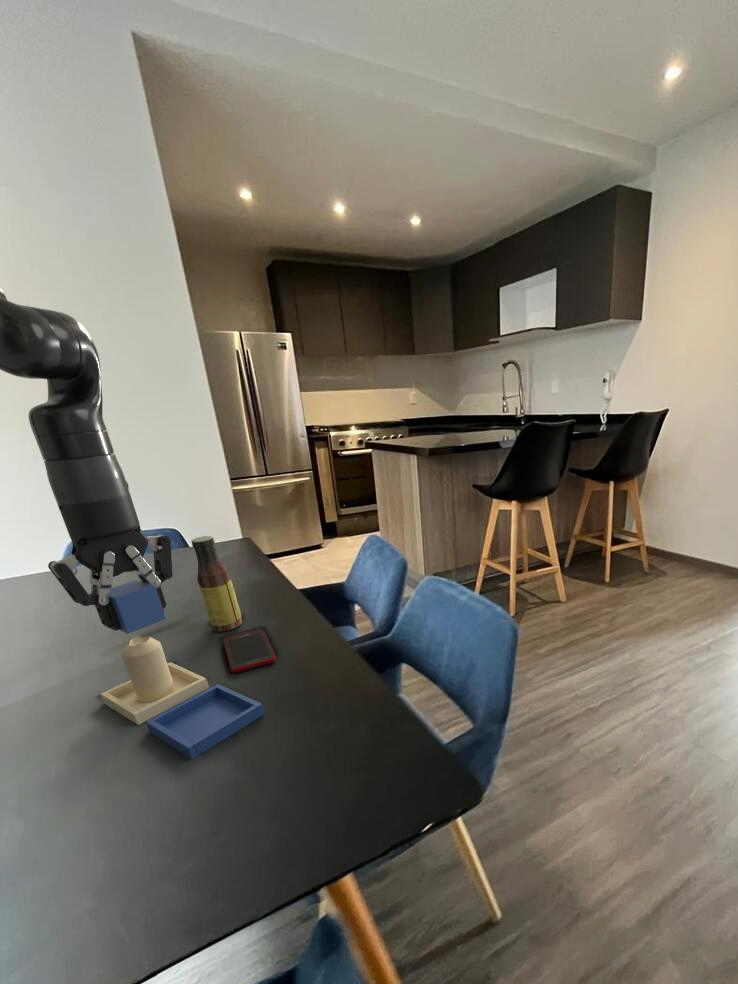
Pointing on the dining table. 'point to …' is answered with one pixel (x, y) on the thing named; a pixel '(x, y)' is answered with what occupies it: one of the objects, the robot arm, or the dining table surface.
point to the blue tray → (204, 720)
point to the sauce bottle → (216, 586)
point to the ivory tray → (140, 712)
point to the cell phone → (248, 651)
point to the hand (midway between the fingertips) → (137, 619)
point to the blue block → (136, 605)
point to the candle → (148, 669)
